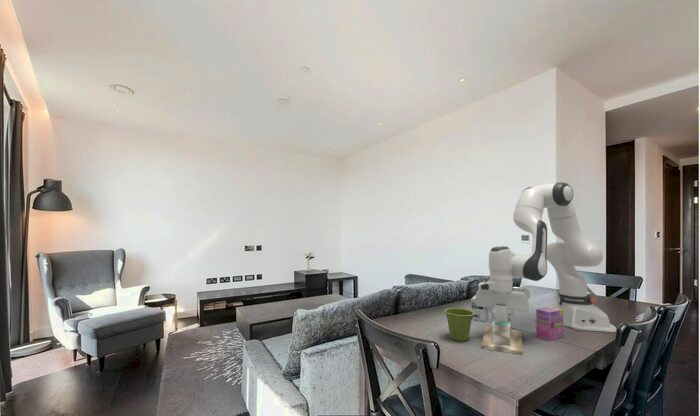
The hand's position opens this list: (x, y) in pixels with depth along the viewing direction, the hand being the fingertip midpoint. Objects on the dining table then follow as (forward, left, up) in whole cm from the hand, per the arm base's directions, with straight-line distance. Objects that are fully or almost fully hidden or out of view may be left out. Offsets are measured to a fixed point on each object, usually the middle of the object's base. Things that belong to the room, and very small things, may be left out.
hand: (501, 319), depth 130 cm
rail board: (0, 0, -8) cm, 8 cm away
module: (0, 0, -4) cm, 4 cm away
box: (-18, -14, -9) cm, 25 cm away
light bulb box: (+11, -30, -9) cm, 33 cm away
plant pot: (+16, +6, -9) cm, 19 cm away
